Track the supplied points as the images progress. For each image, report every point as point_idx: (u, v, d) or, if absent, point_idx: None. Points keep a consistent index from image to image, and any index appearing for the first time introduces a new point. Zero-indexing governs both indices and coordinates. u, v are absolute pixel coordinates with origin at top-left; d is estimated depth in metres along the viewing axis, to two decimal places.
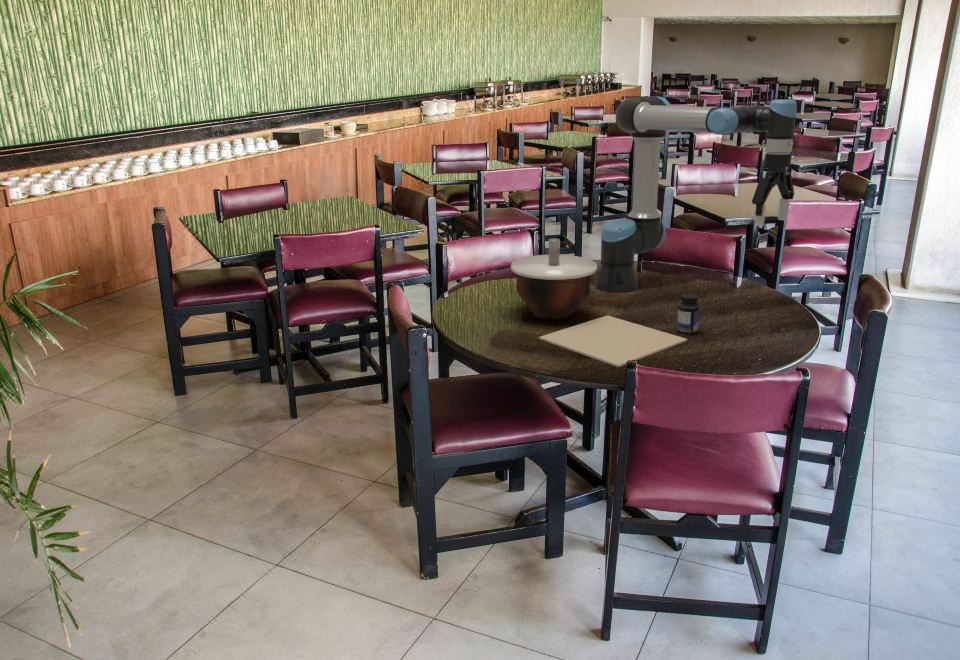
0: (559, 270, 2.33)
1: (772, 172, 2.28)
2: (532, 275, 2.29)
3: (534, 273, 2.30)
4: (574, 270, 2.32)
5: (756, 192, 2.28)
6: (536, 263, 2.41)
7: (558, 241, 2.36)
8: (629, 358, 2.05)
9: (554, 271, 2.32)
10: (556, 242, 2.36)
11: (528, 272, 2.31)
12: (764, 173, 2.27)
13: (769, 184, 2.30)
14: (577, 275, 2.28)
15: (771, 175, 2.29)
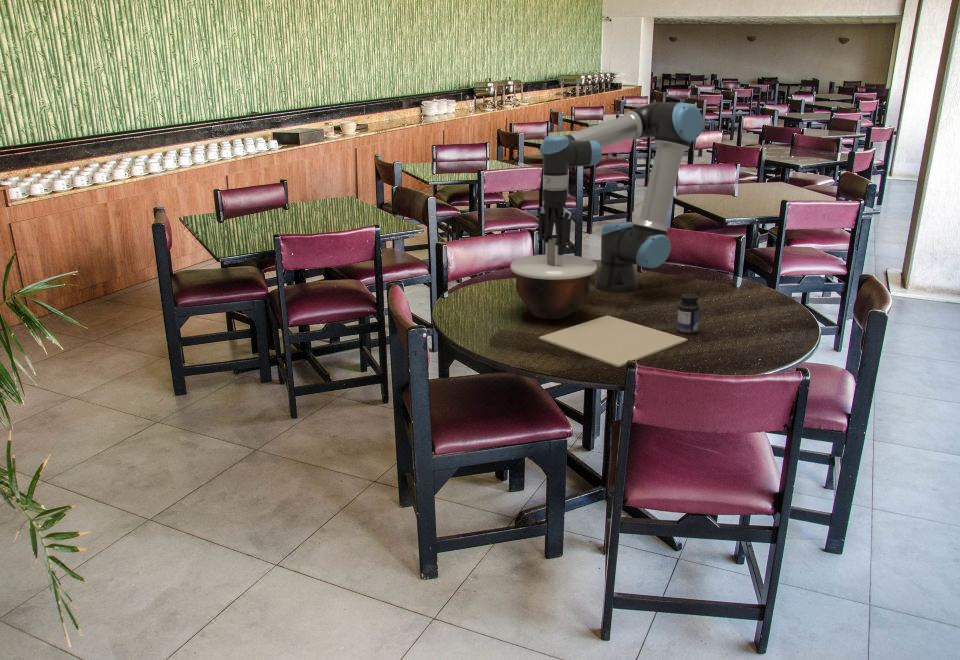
0: (559, 270, 2.33)
1: (543, 206, 2.36)
2: (532, 274, 2.29)
3: (534, 273, 2.29)
4: (574, 270, 2.32)
5: None
6: (536, 263, 2.41)
7: None
8: (629, 358, 2.05)
9: (554, 271, 2.32)
10: (556, 242, 2.36)
11: (528, 272, 2.31)
12: None
13: None
14: (577, 275, 2.28)
15: None
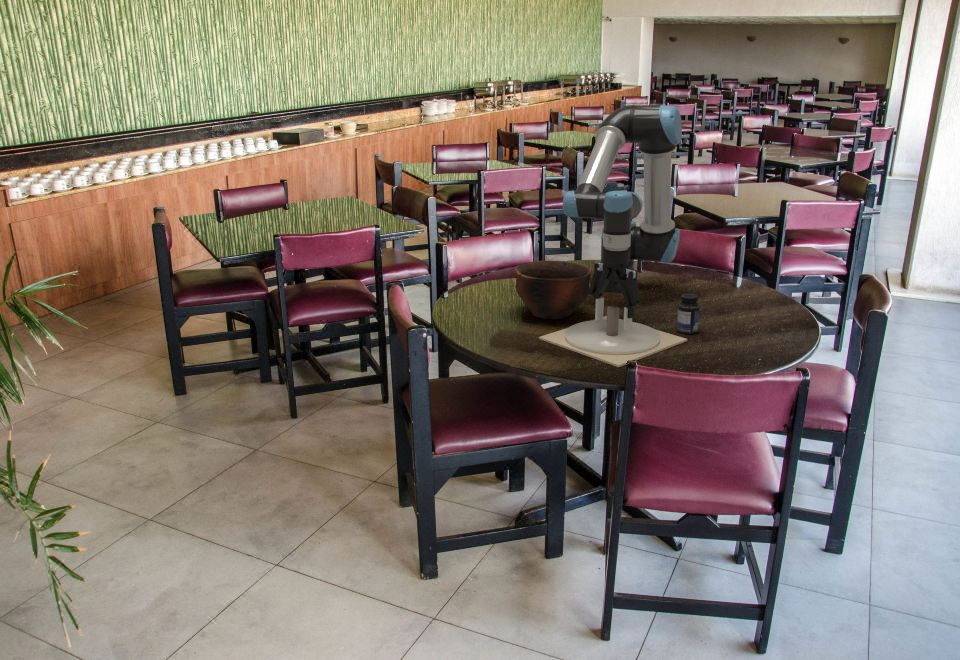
0: (620, 342, 2.13)
1: (602, 265, 2.16)
2: (592, 349, 2.10)
3: (594, 347, 2.10)
4: (636, 342, 2.13)
5: None
6: (592, 332, 2.22)
7: (618, 310, 2.17)
8: (629, 358, 2.05)
9: (615, 344, 2.12)
10: (616, 311, 2.16)
11: (587, 345, 2.11)
12: None
13: None
14: (641, 349, 2.09)
15: (602, 268, 2.16)
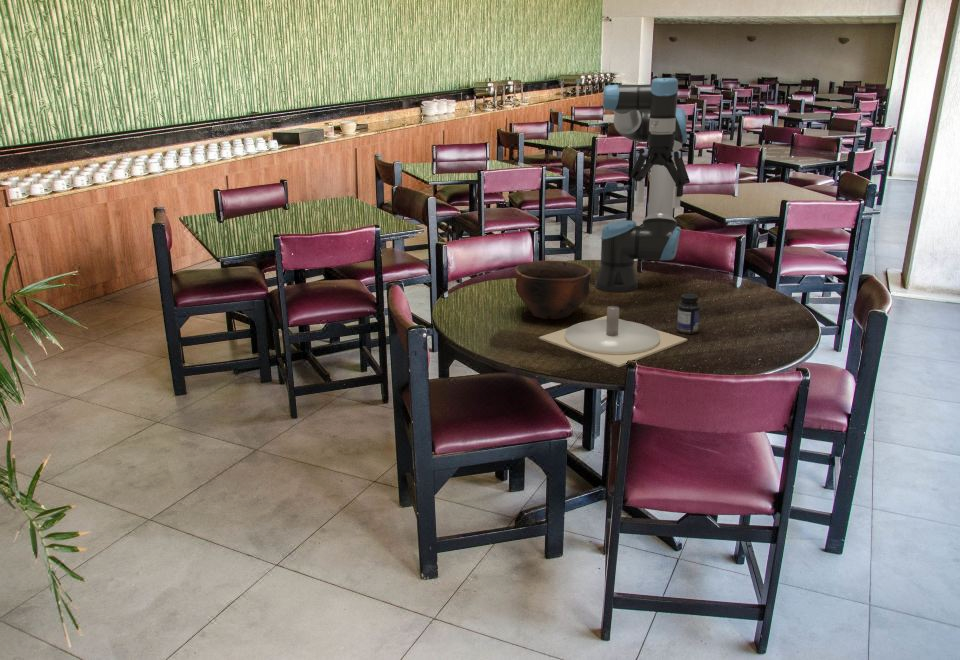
0: (620, 342, 2.13)
1: (648, 150, 2.29)
2: (592, 349, 2.10)
3: (594, 347, 2.10)
4: (636, 342, 2.13)
5: None
6: (592, 332, 2.22)
7: (618, 310, 2.17)
8: (629, 358, 2.05)
9: (615, 344, 2.12)
10: (616, 311, 2.16)
11: (587, 345, 2.11)
12: None
13: None
14: (641, 349, 2.09)
15: (648, 153, 2.30)
